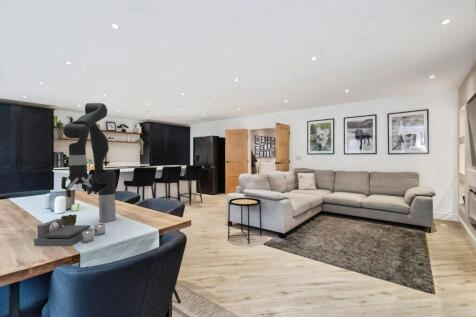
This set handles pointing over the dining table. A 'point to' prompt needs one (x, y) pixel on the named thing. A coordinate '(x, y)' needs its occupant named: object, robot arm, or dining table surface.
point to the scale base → (55, 241)
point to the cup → (69, 219)
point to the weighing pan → (67, 231)
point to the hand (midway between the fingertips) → (79, 195)
